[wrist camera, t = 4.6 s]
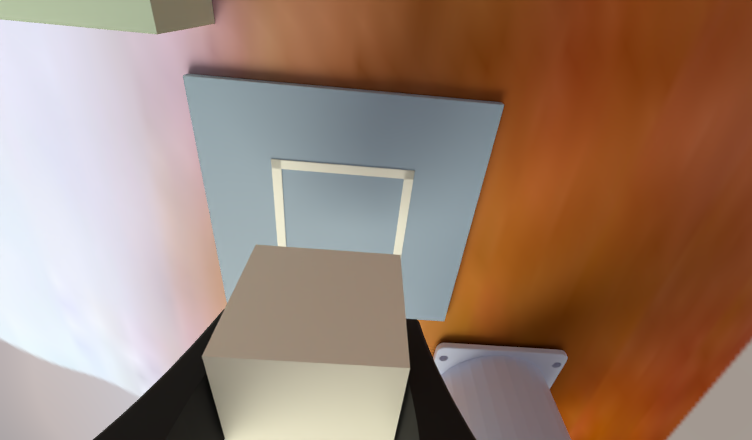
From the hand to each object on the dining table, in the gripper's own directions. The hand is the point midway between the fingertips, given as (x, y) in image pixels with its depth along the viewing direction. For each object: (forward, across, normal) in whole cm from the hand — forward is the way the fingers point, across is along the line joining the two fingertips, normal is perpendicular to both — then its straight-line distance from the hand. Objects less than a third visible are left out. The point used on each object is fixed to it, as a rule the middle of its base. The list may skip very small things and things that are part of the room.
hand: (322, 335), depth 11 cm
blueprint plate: (+7, 0, 0) cm, 7 cm away
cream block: (+1, 0, 0) cm, 1 cm away
